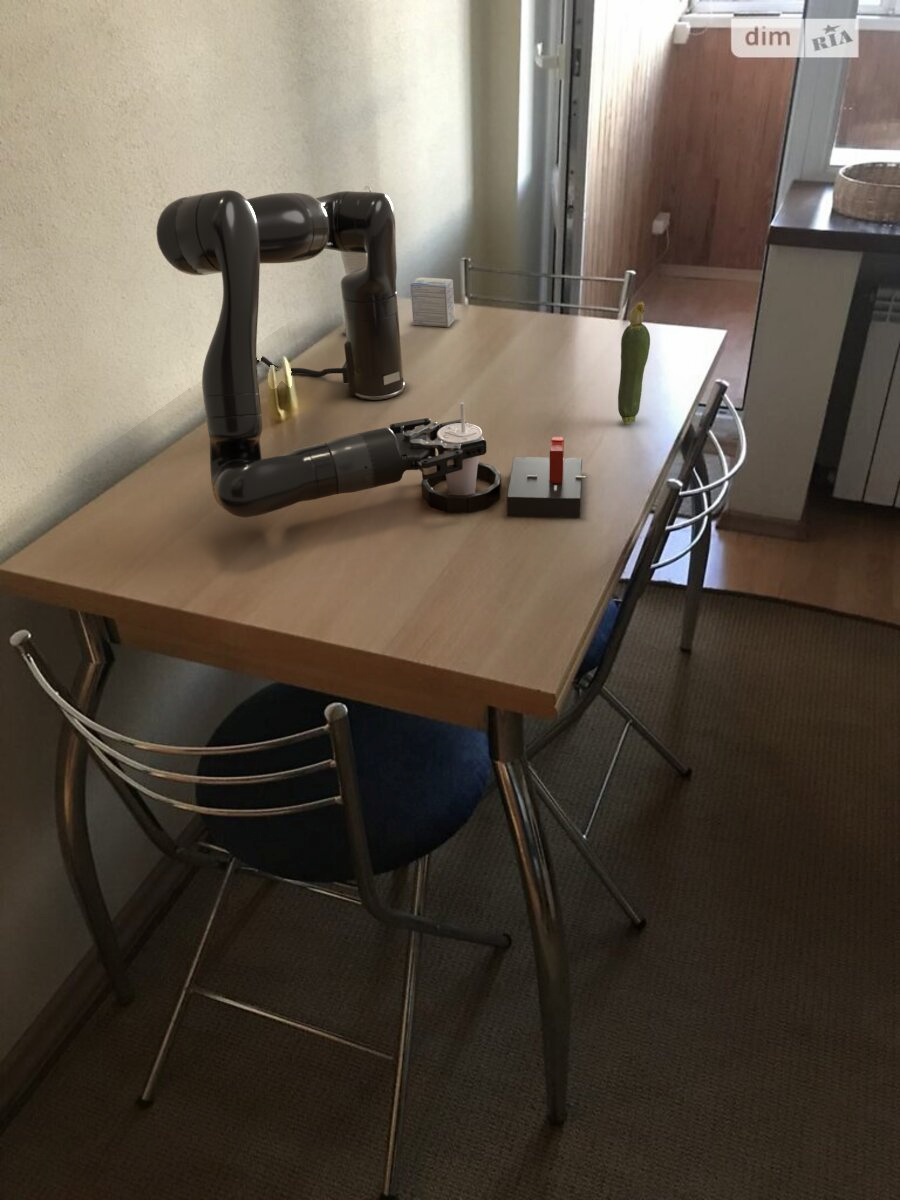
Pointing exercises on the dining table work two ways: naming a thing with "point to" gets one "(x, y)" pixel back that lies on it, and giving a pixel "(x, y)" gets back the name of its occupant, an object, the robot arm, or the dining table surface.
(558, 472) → the knob
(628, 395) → the vegetable
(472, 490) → the smoothie
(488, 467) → the ring
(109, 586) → the dining table surface
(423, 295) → the grey striped block
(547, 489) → the panel
